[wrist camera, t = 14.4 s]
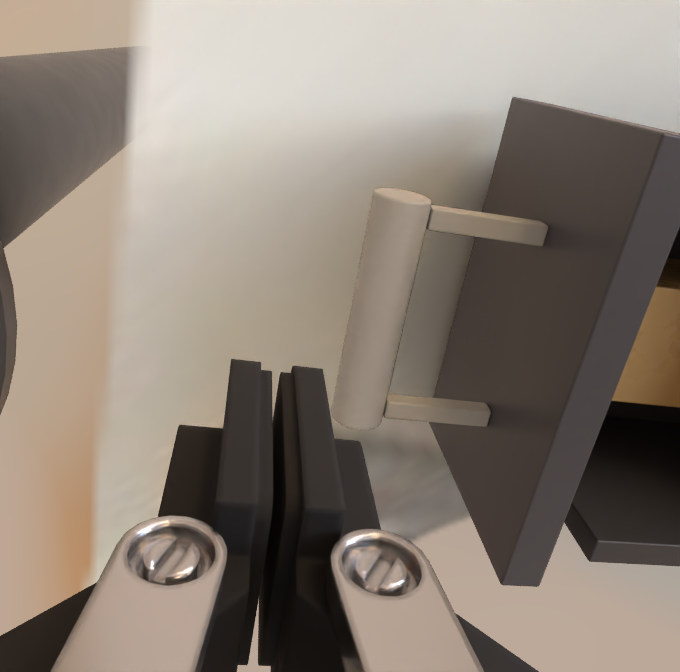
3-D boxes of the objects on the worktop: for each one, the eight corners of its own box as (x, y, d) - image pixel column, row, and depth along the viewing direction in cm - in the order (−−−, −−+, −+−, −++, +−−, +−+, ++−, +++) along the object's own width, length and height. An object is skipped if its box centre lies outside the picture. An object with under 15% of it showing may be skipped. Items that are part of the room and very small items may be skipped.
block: (550, 346, 24) (602, 401, 21) (584, 245, 23) (646, 284, 19) (646, 357, 25) (711, 411, 21) (685, 260, 23) (763, 300, 20)
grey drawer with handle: (306, 408, 26) (328, 578, 18) (365, 69, 21) (434, 90, 13) (737, 447, 29) (920, 604, 21) (877, 164, 24) (1189, 228, 16)
